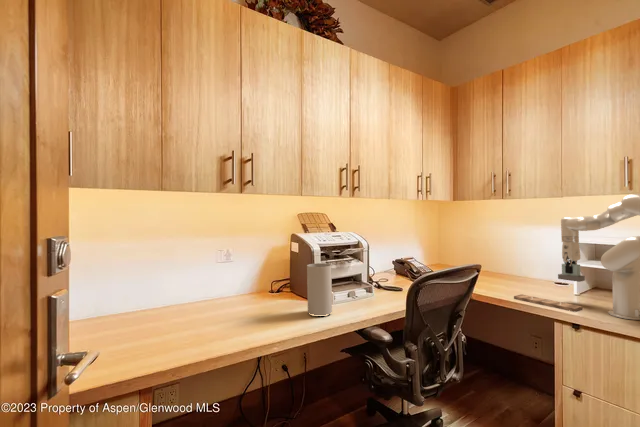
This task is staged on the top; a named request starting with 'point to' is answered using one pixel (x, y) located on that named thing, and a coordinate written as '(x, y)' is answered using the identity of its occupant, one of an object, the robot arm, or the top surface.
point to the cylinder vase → (319, 288)
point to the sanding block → (574, 276)
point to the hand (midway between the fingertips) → (571, 272)
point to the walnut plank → (548, 302)
